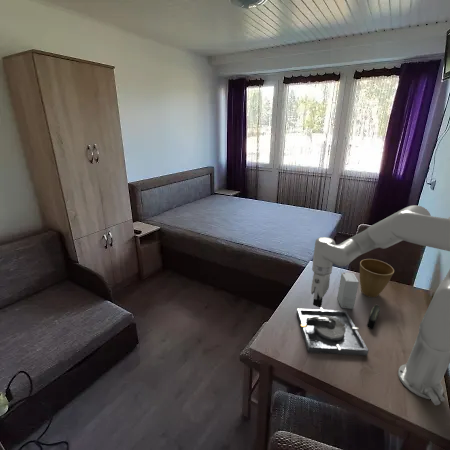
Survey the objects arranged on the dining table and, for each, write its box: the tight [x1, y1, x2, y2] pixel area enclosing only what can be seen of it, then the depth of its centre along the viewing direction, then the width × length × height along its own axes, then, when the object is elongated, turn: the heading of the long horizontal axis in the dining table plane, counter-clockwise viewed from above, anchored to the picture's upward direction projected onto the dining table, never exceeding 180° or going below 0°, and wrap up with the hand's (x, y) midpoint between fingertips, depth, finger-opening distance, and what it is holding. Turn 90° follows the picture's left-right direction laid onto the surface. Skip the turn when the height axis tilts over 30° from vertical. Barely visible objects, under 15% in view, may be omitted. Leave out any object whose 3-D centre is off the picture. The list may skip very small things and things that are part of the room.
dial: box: [306, 316, 346, 341], centre depth 109 cm, size 16×12×6 cm
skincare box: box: [336, 272, 360, 310], centre depth 126 cm, size 8×6×15 cm
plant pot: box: [359, 258, 395, 298], centre depth 133 cm, size 15×15×16 cm
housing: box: [296, 307, 370, 356], centre depth 110 cm, size 23×23×3 cm
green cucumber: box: [366, 304, 381, 330], centre depth 117 cm, size 5×3×15 cm
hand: (317, 305), depth 113 cm, fingers closed
